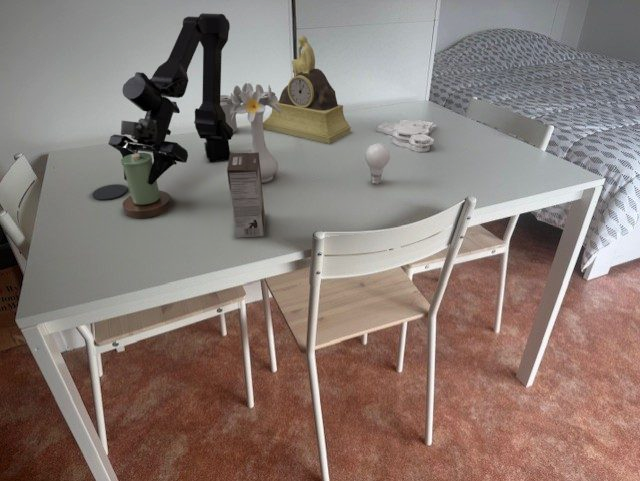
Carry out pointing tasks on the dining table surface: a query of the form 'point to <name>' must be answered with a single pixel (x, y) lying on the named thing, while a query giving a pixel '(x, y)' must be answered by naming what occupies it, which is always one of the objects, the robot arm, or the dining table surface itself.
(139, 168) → the canister
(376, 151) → the lightbulb
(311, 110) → the decorative clock
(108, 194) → the coaster
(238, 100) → the flower vase
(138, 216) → the platform
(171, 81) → the robot arm
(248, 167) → the coffee box
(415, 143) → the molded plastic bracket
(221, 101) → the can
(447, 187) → the dining table surface
